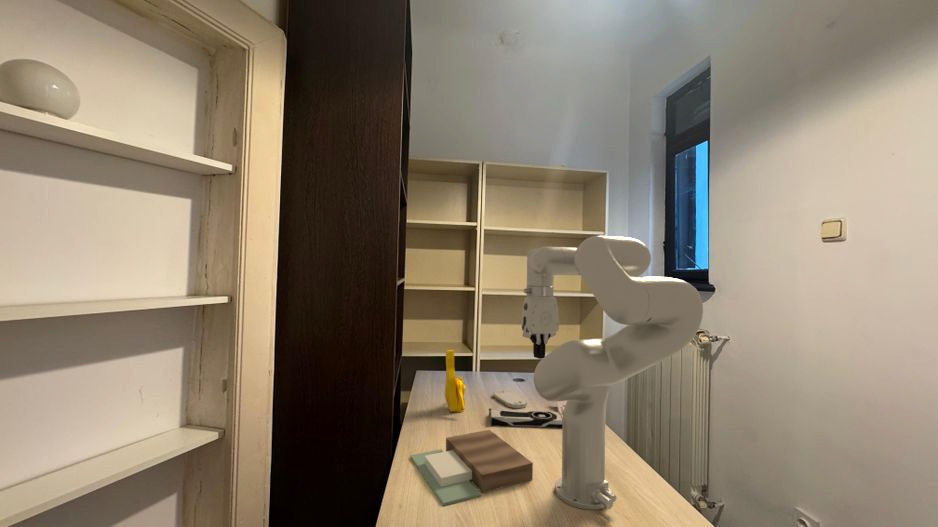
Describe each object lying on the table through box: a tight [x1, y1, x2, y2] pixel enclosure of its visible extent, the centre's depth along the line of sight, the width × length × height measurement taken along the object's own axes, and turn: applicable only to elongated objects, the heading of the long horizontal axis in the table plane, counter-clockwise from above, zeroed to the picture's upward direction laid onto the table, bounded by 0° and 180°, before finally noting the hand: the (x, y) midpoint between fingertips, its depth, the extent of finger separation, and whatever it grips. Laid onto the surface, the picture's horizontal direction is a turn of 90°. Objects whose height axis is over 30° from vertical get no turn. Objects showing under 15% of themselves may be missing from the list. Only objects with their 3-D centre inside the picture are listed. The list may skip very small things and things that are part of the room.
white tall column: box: [556, 400, 568, 423], centre depth 137 cm, size 6×6×25 cm
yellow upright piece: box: [444, 349, 467, 413], centre depth 142 cm, size 18×8×22 cm, turn 9°
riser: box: [445, 429, 534, 493], centre depth 101 cm, size 22×14×4 cm, turn 26°
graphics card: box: [488, 407, 562, 429], centre depth 131 cm, size 10×3×25 cm
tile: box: [424, 450, 472, 487], centre depth 96 cm, size 12×8×2 cm, turn 26°
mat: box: [410, 448, 481, 507], centre depth 95 cm, size 24×9×1 cm, turn 26°
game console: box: [493, 389, 528, 410], centre depth 152 cm, size 18×2×8 cm
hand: (539, 357), depth 108 cm, fingers closed
